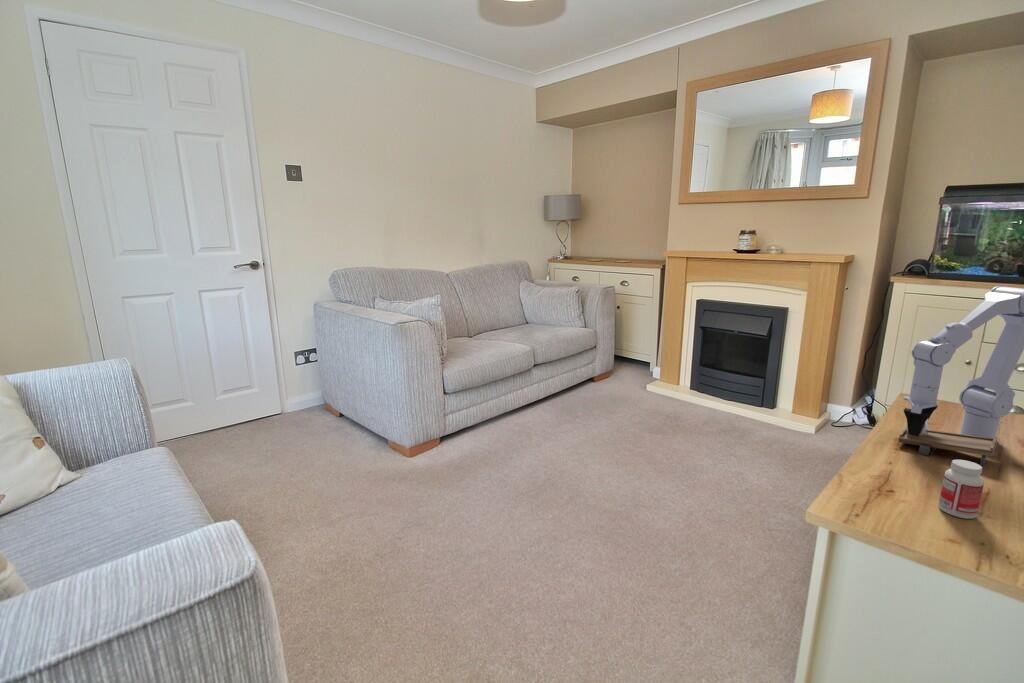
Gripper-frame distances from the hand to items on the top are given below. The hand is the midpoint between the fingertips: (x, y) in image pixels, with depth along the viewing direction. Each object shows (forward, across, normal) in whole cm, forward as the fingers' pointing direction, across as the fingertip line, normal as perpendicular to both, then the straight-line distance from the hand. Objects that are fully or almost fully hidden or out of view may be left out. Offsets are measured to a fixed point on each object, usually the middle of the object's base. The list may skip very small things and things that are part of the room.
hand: (916, 431), depth 135 cm
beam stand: (+4, 0, +3) cm, 5 cm away
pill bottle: (+4, +35, +13) cm, 38 cm away
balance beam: (+2, 0, +3) cm, 4 cm away
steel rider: (+1, 0, 0) cm, 1 cm away
